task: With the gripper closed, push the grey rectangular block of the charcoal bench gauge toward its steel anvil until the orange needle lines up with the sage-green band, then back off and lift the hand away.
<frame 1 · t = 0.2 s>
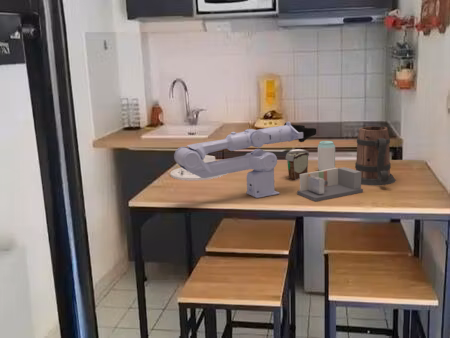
hand: (309, 129, 185), 21 cm above the table, tool horizontal, fingers open, 7 cm apart
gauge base: (329, 193, 179), on the table
tankard: (375, 182, 191), on the table
food container: (294, 177, 204), on the table
can: (326, 170, 213), on the table
grey rectangular block: (319, 183, 176), point 4 cm above the table, slide at 0.0 cm
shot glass: (297, 166, 223), on the table
dish: (199, 174, 219), on the table
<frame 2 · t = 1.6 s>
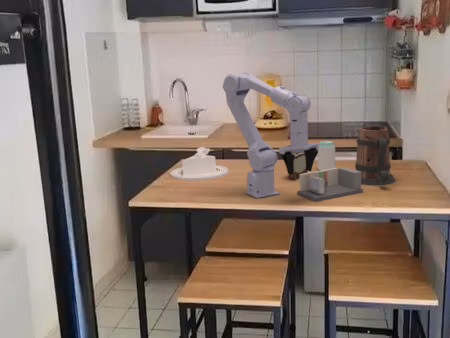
hand: (299, 172, 172), 9 cm above the table, tool pointing down, fingers open, 7 cm apart
nothing on the table moved.
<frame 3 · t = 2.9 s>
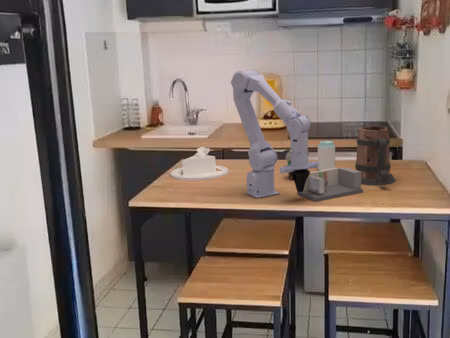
hand: (300, 191, 173), 3 cm above the table, tool pointing down, fingers closed
nothing on the table moved.
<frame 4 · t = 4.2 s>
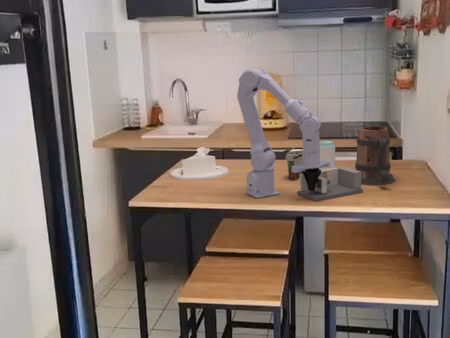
hand: (311, 190, 175), 2 cm above the table, tool pointing down, fingers closed
grey rectangular block: (321, 182, 177), point 4 cm above the table, slide at 1.0 cm, touching gripper
everything else where it was.
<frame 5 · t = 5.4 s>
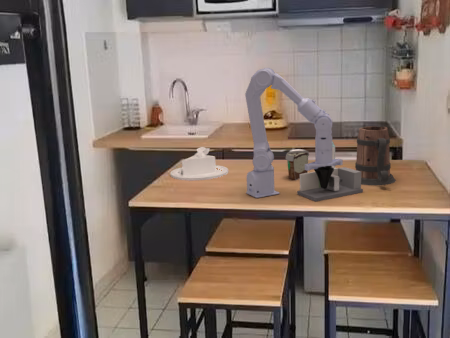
hand: (324, 187, 177), 2 cm above the table, tool pointing down, fingers closed
grey rectangular block: (334, 180, 179), point 4 cm above the table, slide at 6.3 cm, touching gripper
everything else where it was.
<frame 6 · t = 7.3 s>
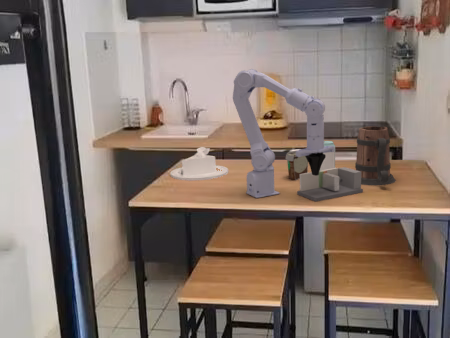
hand: (315, 174, 175), 8 cm above the table, tool pointing down, fingers closed
grey rectangular block: (334, 180, 179), point 4 cm above the table, slide at 6.3 cm
everything else where it was.
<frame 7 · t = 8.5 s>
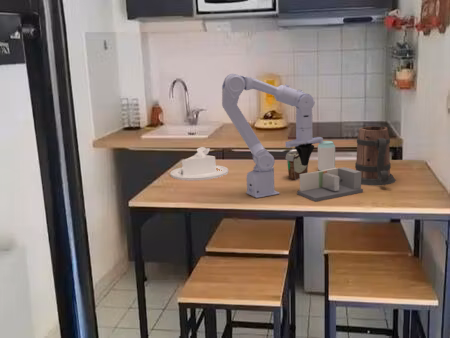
hand: (304, 165, 182), 9 cm above the table, tool pointing down, fingers closed
nothing on the table moved.
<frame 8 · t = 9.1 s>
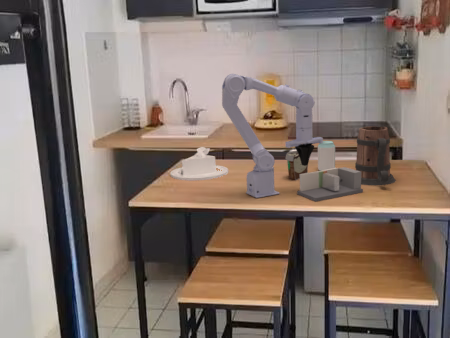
hand: (304, 165, 182), 9 cm above the table, tool pointing down, fingers closed
nothing on the table moved.
at the end: grey rectangular block slide at 6.3 cm; the gripper is holding nothing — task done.
